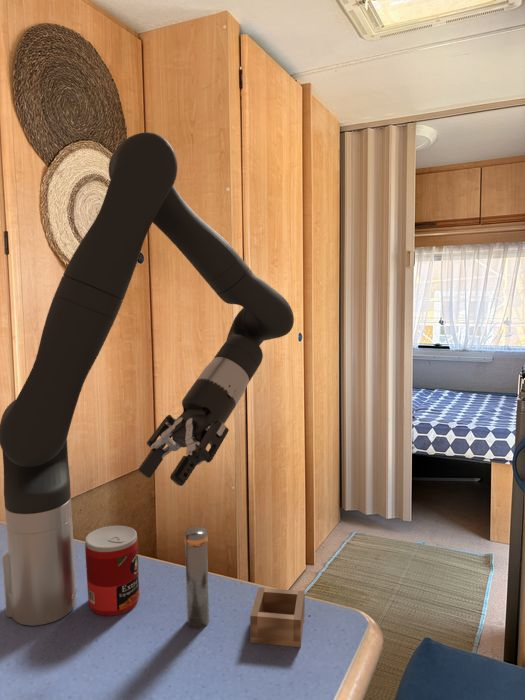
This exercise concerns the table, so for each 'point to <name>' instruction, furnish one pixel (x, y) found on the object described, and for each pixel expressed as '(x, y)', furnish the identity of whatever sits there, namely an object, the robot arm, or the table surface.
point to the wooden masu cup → (278, 617)
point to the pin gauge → (197, 577)
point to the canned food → (112, 569)
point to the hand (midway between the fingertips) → (158, 478)
